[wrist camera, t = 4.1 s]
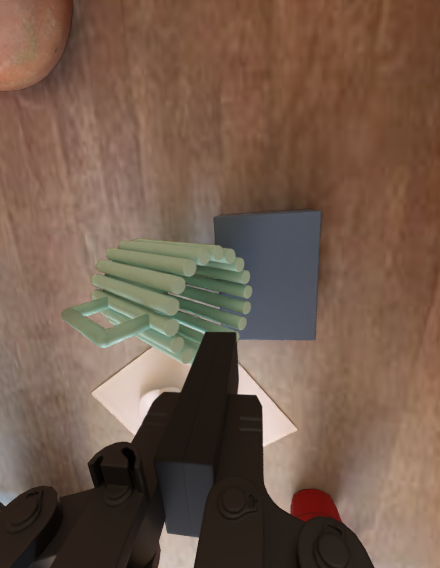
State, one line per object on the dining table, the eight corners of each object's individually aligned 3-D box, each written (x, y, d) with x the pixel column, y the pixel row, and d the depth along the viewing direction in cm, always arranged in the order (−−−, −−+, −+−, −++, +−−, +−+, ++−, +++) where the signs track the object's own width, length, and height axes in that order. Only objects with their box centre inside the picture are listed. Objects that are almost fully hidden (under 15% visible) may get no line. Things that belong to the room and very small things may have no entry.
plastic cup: (275, 468, 36) (283, 591, 25) (358, 481, 35) (406, 619, 23) (268, 521, 39) (271, 650, 28) (343, 535, 38) (379, 677, 27)
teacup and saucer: (172, 372, 33) (161, 395, 30) (213, 415, 35) (207, 442, 31) (128, 403, 36) (112, 427, 32) (167, 441, 37) (156, 469, 33)
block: (226, 322, 30) (222, 339, 26) (219, 214, 27) (213, 217, 23) (308, 322, 29) (315, 340, 25) (312, 208, 25) (321, 210, 21)
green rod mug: (136, 309, 31) (34, 401, 17) (122, 235, 29) (-10, 272, 15) (254, 308, 29) (250, 413, 15) (252, 228, 27) (244, 263, 12)
